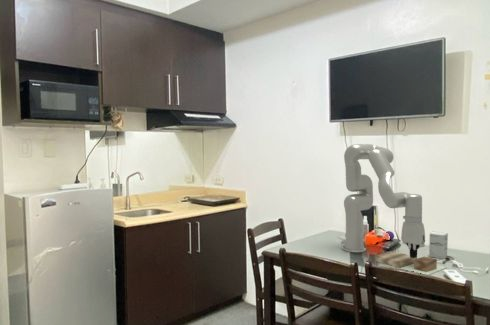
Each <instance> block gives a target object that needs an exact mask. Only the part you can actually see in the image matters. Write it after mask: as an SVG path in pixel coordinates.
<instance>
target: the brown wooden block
mask: <svg viewBox="0 0 490 325" xmlns="http://www.w3.org/2000/svg"><path fill="white" fill-rule="evenodd" d="M437 259H438V258H437ZM437 259H436V258H434V257H429V256H422V257H419V258H418V257H417V259H414V269H416V270H420V271H424V272H428V271H431V270H434V269H437V264H438V263H437Z"/></svg>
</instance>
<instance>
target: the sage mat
mask: <svg viewBox="0 0 490 325" xmlns="http://www.w3.org/2000/svg"><path fill="white" fill-rule="evenodd" d="M399 269H400V270H402V269H403V271H406V270H408V271H407V272H410V271H414V272H418V273H422V274H427V275H428V276H431V275H432V274H435V273H438V272H441V271H444V270H446V269H447V267H446V266H442V265H437V269H434V270H431V271H428V272H424V271H420V270H416V269H414V264H411V265H408V266H405V267H402V268H400V267H399ZM443 269H444V270H443ZM414 272H413V273H414ZM418 273H417V274H418ZM422 274H421V275H422Z"/></svg>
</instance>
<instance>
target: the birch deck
mask: <svg viewBox="0 0 490 325" xmlns="http://www.w3.org/2000/svg"><path fill="white" fill-rule="evenodd" d="M414 259H418V256H417V257H416V258H410V254H407V253H402V252H397V251H393V250H391V251H387V252H384V253H380V254H377V255H375V262H377V263H381V264H385V265H389V266H393V267H395V268H399V269H400V268H402V267H405V266H408V265H411V264H414Z"/></svg>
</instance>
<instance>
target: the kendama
mask: <svg viewBox="0 0 490 325" xmlns="http://www.w3.org/2000/svg"><path fill="white" fill-rule="evenodd" d="M385 232H386V233H388V234H389V236H390V239H393V240H394V239H395V235H394V232H392V231H391V230H390V231H389V230H387V231H385Z"/></svg>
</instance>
